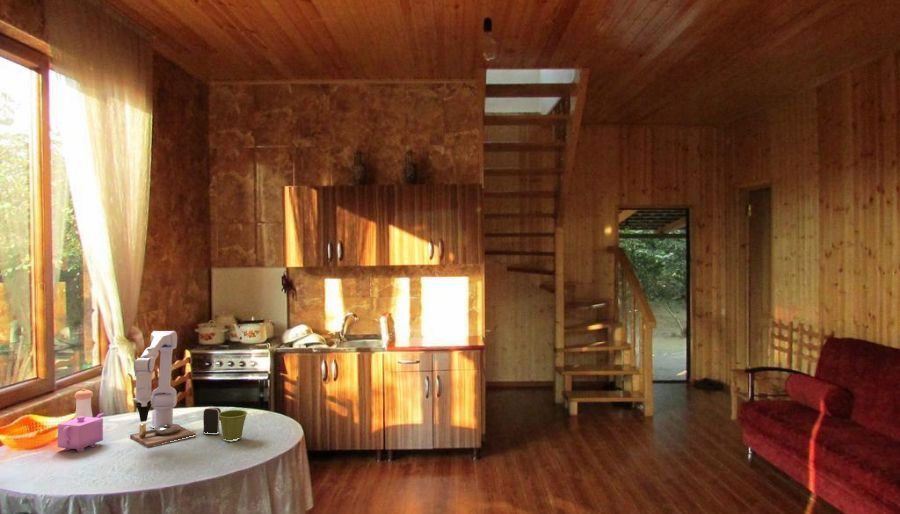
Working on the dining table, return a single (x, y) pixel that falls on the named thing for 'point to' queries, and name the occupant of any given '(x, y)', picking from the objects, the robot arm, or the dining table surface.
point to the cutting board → (161, 437)
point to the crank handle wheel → (159, 429)
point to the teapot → (80, 432)
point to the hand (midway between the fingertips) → (143, 420)
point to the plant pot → (232, 423)
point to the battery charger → (211, 420)
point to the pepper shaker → (83, 403)
